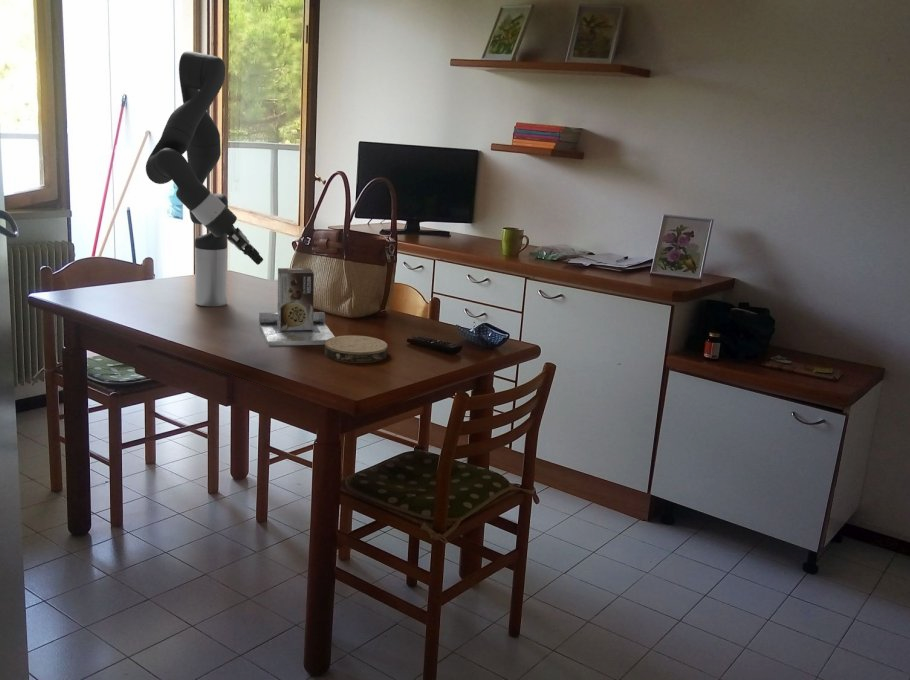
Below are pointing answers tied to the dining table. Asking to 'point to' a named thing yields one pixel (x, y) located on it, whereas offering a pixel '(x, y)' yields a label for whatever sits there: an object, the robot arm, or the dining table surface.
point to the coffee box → (295, 299)
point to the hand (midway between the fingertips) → (258, 259)
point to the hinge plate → (294, 331)
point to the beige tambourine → (355, 349)
